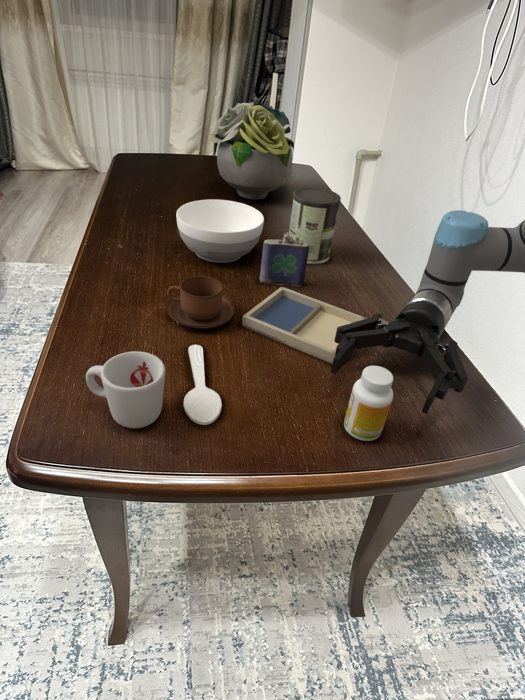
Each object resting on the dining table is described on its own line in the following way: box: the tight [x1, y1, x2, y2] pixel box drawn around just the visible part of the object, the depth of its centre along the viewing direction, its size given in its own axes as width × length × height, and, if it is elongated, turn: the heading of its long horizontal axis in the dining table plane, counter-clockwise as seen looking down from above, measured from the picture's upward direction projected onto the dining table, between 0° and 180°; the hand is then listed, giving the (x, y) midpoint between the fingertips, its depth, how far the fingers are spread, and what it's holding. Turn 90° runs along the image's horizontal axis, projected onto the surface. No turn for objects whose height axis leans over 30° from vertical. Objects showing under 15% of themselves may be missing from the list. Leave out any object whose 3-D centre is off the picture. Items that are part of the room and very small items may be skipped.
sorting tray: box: [241, 286, 368, 365], centre depth 88 cm, size 18×14×2 cm
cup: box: [85, 351, 166, 429], centre depth 65 cm, size 11×8×8 cm
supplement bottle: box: [343, 365, 394, 442], centre depth 66 cm, size 5×5×10 cm
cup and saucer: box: [166, 275, 236, 330], centre depth 87 cm, size 12×12×6 cm
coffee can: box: [288, 186, 342, 265], centre depth 110 cm, size 10×10×14 cm
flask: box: [259, 231, 309, 287], centre depth 99 cm, size 9×3×11 cm, turn 91°
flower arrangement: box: [208, 101, 295, 200], centre depth 136 cm, size 25×25×24 cm
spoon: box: [182, 344, 223, 426], centre depth 73 cm, size 5×18×1 cm, turn 11°
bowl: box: [176, 199, 265, 264], centre depth 108 cm, size 19×19×9 cm
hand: (378, 385), depth 68 cm, fingers open, 13 cm apart
